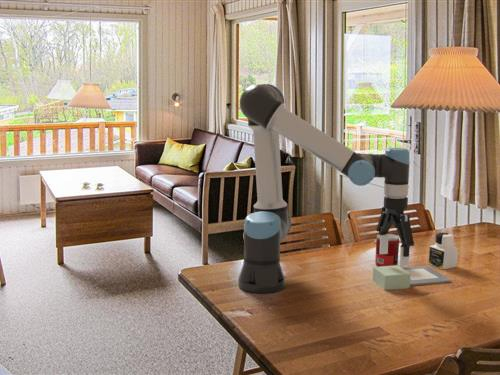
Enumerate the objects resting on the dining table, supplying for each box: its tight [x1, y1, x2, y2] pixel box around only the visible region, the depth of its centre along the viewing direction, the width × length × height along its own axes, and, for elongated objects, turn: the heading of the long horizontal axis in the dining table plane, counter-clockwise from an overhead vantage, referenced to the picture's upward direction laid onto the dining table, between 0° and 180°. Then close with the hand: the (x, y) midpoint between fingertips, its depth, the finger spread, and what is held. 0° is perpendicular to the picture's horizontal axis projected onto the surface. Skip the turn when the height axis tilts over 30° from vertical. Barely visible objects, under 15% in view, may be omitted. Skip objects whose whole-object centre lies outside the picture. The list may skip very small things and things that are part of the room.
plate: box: [400, 264, 453, 287], centre depth 202 cm, size 16×16×1 cm
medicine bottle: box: [428, 232, 459, 270], centre depth 212 cm, size 7×7×12 cm
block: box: [372, 265, 411, 291], centre depth 193 cm, size 9×9×5 cm
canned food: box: [374, 233, 400, 267], centre depth 212 cm, size 8×8×11 cm
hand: (393, 259), depth 192 cm, fingers open, 13 cm apart
